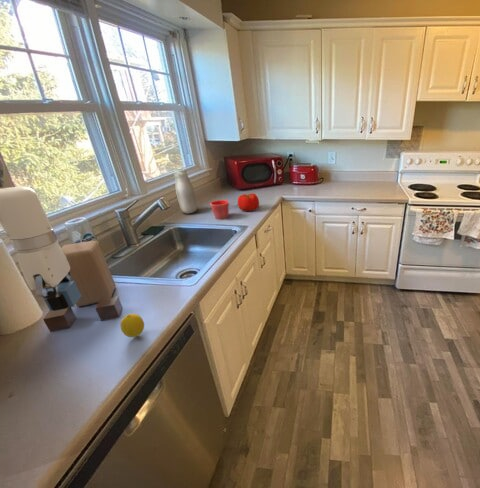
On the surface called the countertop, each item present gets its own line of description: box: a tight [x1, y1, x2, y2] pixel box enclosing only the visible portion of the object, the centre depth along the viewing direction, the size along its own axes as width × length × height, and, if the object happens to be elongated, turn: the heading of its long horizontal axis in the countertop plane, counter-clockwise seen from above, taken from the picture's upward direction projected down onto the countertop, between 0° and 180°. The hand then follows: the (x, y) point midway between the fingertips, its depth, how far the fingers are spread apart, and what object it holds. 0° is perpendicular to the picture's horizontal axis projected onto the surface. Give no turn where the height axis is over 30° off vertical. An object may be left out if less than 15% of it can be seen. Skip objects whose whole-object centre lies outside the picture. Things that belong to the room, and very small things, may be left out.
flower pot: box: [209, 199, 230, 220], centre depth 173 cm, size 11×11×10 cm
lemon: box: [120, 313, 145, 338], centre depth 82 cm, size 6×6×8 cm
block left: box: [42, 307, 77, 333], centre depth 87 cm, size 5×5×5 cm
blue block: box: [43, 281, 81, 311], centre depth 73 cm, size 5×5×5 cm
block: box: [61, 240, 116, 307], centre depth 97 cm, size 10×10×20 cm
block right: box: [95, 295, 124, 322], centre depth 91 cm, size 5×5×5 cm
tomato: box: [237, 192, 260, 212], centre depth 186 cm, size 14×13×10 cm
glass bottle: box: [173, 168, 198, 215], centre depth 177 cm, size 10×10×28 cm
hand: (65, 301), depth 74 cm, fingers closed on blue block, 5 cm apart
